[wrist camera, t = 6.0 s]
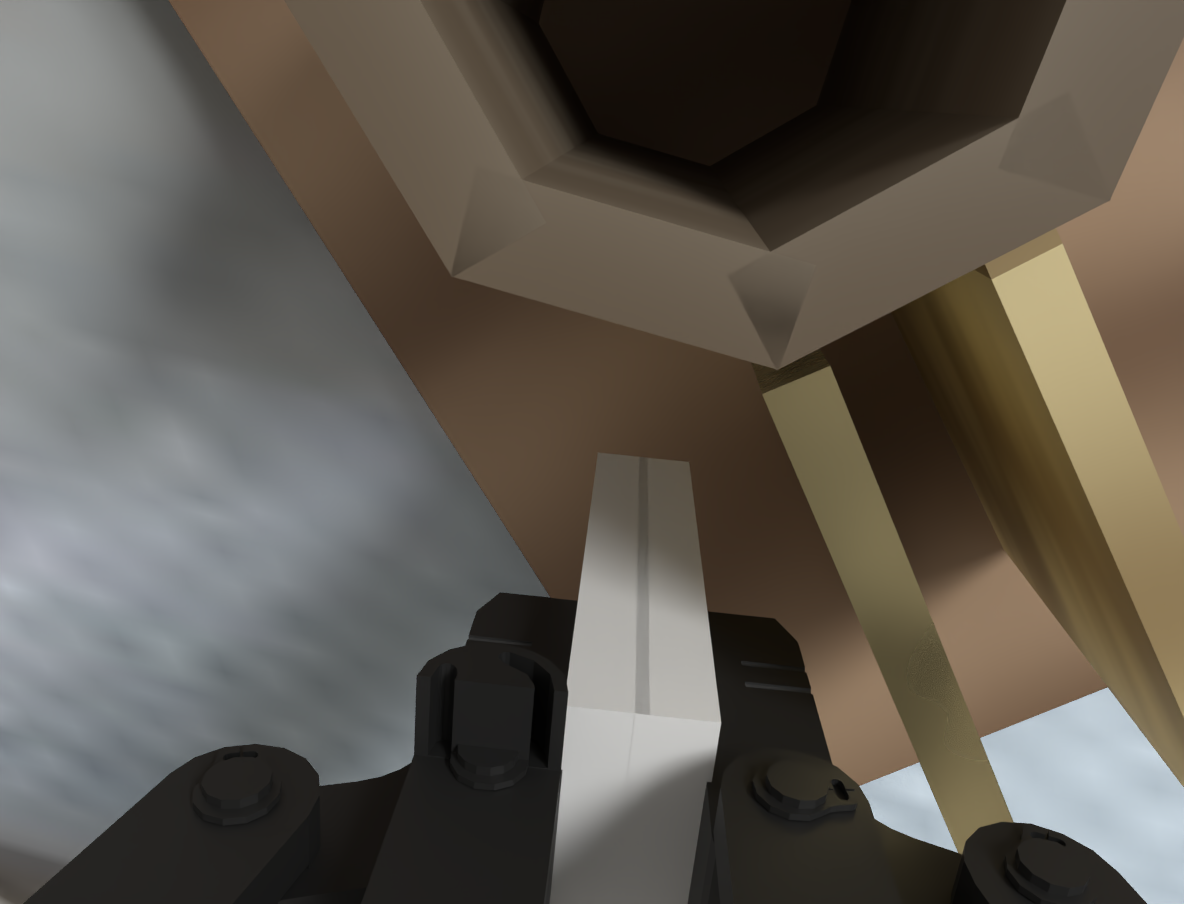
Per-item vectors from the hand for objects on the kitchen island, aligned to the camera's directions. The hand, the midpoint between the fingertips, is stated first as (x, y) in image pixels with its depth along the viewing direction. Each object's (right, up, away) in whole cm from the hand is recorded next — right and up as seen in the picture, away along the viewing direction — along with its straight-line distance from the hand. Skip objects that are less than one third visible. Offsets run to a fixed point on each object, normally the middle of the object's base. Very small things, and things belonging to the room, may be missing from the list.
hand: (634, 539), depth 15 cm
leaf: (+3, +2, +1) cm, 4 cm away
